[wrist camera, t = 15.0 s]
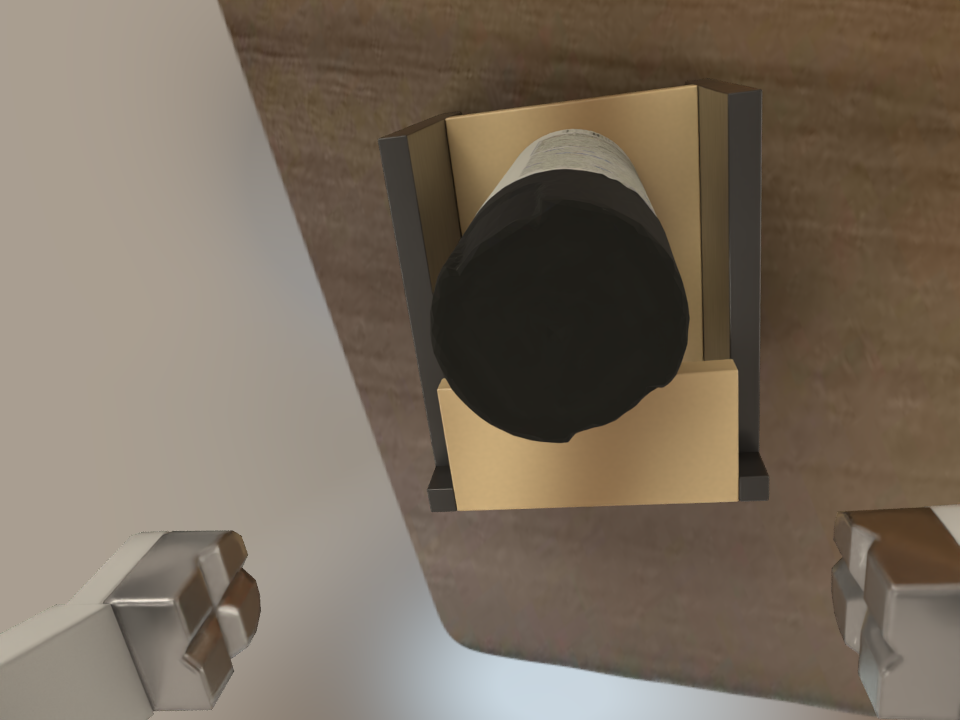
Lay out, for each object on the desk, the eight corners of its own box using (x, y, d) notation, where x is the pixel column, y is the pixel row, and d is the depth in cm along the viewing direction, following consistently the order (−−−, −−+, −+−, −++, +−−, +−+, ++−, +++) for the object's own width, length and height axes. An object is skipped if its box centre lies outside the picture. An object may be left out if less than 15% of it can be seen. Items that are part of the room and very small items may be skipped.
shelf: (478, 377, 46) (430, 512, 33) (439, 114, 41) (362, 144, 27) (713, 361, 44) (769, 501, 30) (709, 78, 38) (775, 91, 24)
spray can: (479, 177, 37) (367, 299, 18) (595, 95, 34) (601, 140, 16) (552, 285, 38) (517, 495, 20) (667, 213, 36) (747, 376, 18)
